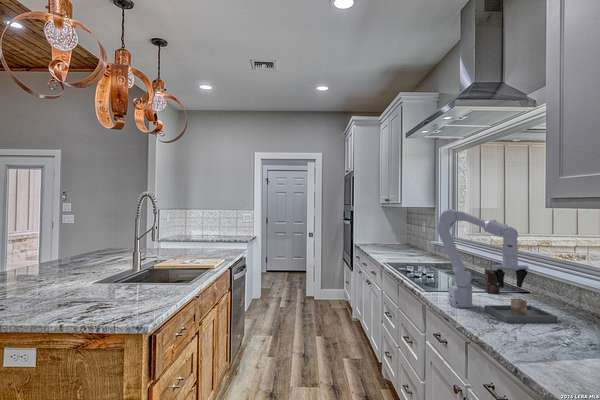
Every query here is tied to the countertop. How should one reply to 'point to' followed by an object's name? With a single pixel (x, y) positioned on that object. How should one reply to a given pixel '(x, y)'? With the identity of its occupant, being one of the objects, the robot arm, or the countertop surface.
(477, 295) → the countertop surface
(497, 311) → the tray
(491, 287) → the box
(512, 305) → the maple block
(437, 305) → the countertop surface
